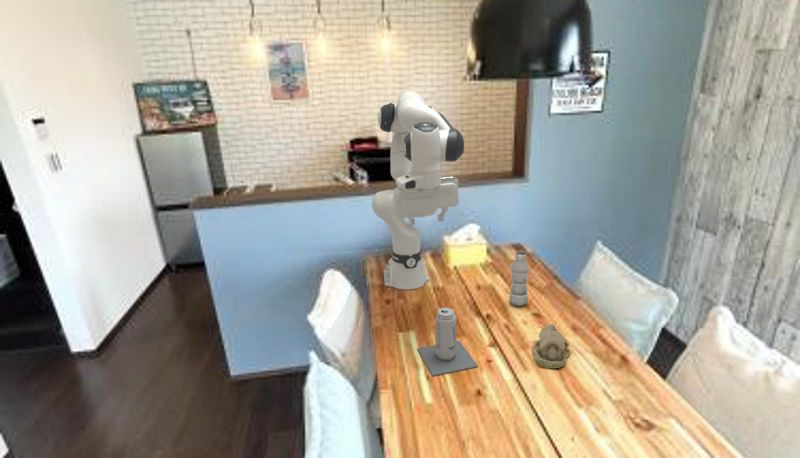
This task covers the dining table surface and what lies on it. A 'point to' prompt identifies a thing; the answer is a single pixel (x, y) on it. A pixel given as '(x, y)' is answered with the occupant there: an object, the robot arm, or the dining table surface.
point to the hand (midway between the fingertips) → (426, 222)
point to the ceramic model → (551, 348)
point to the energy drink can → (446, 334)
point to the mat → (447, 366)
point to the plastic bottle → (519, 280)
